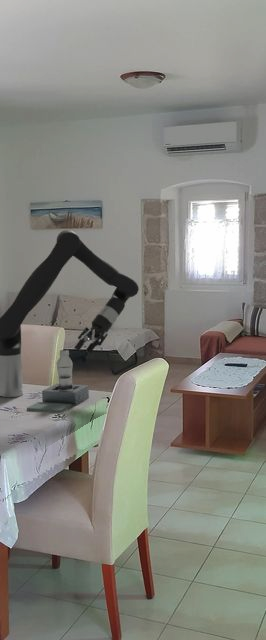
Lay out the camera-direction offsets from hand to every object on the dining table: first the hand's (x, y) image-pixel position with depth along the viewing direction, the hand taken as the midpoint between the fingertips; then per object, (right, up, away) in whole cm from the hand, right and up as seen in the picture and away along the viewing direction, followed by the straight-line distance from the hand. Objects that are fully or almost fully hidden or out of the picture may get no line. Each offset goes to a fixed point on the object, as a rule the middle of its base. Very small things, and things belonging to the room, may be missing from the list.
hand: (82, 350), depth 259 cm
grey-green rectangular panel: (-11, -21, -14) cm, 28 cm away
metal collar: (-6, -20, -2) cm, 21 cm away
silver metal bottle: (-6, -20, -2) cm, 21 cm away
